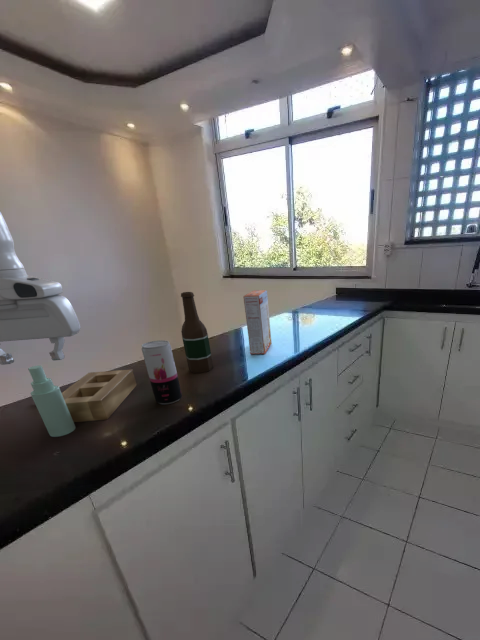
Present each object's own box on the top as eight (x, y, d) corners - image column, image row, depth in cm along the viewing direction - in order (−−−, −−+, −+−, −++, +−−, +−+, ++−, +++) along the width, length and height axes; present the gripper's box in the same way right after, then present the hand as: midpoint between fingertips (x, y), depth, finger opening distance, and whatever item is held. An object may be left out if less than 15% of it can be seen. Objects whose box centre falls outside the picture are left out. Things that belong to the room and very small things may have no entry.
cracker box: (257, 343, 126) (252, 289, 117) (272, 343, 126) (267, 289, 116) (249, 354, 114) (242, 295, 104) (265, 354, 113) (259, 294, 104)
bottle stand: (53, 424, 71) (45, 405, 69) (94, 388, 90) (88, 372, 88) (107, 419, 73) (100, 400, 70) (136, 385, 91) (132, 369, 89)
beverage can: (171, 406, 78) (157, 348, 71) (150, 403, 79) (134, 347, 73) (187, 395, 83) (175, 340, 77) (167, 393, 85) (153, 339, 78)
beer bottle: (218, 367, 102) (206, 291, 92) (200, 375, 97) (184, 294, 86) (202, 363, 106) (188, 290, 96) (183, 371, 100) (167, 293, 90)
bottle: (44, 438, 66) (13, 372, 60) (57, 426, 70) (29, 364, 64) (68, 435, 67) (40, 370, 60) (79, 424, 71) (54, 362, 64)
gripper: (-81, 294, 51) (-38, 371, 58) (50, 286, 54) (79, 362, 60) (-49, 289, 57) (-12, 361, 63) (69, 282, 59) (94, 352, 65)
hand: (33, 361), depth 61 cm, fingers open, 8 cm apart
